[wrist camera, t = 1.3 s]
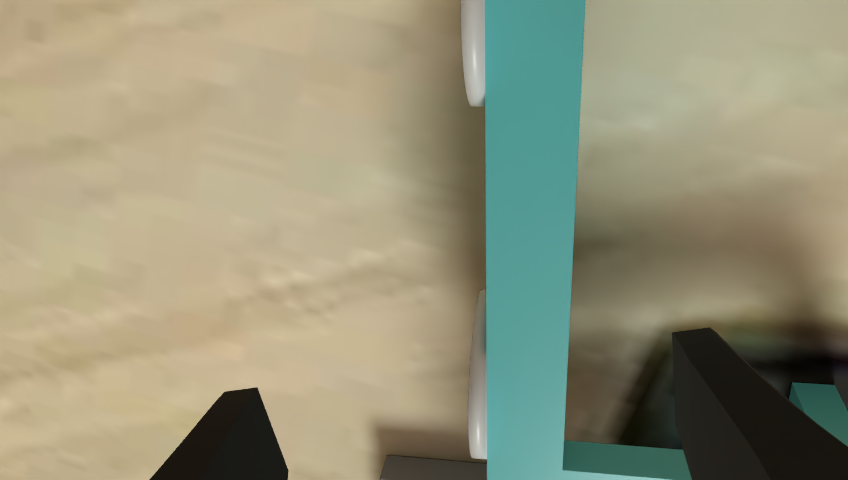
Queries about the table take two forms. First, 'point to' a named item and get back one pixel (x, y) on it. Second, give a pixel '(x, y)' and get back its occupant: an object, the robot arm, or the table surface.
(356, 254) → the table surface
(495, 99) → the teal angled bar frame
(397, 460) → the display stand
